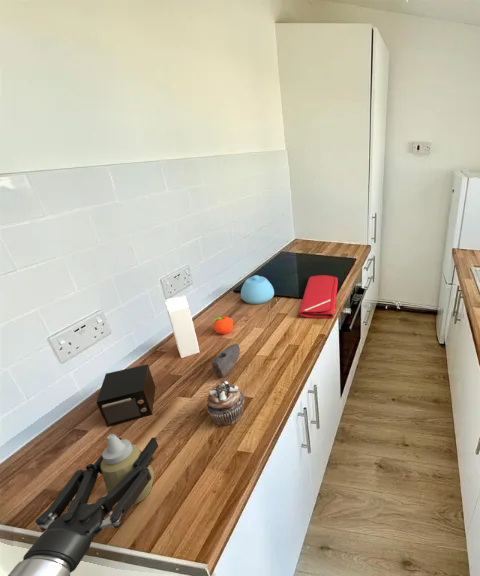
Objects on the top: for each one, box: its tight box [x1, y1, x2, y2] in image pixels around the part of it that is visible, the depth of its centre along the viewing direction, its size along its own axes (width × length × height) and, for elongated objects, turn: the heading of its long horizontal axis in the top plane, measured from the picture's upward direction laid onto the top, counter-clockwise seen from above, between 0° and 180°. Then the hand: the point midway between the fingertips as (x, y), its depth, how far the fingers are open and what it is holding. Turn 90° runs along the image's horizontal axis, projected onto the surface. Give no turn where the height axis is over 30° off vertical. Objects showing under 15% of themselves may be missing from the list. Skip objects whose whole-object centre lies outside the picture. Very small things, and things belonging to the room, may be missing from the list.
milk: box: [164, 295, 201, 359], centre depth 112 cm, size 6×6×22 cm
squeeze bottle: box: [101, 433, 155, 506], centre depth 68 cm, size 8×8×18 cm
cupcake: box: [206, 379, 245, 427], centre depth 90 cm, size 10×10×10 cm
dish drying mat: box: [298, 274, 339, 319], centre depth 159 cm, size 16×41×4 cm, turn 5°
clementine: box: [212, 315, 234, 335], centre depth 127 cm, size 8×7×7 cm
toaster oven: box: [95, 364, 157, 428], centre depth 91 cm, size 10×13×9 cm
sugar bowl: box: [240, 274, 275, 305], centre depth 153 cm, size 15×15×12 cm
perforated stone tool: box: [211, 343, 241, 379], centre depth 109 cm, size 15×5×7 cm, turn 175°
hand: (138, 442), depth 72 cm, fingers closed on squeeze bottle, 6 cm apart
